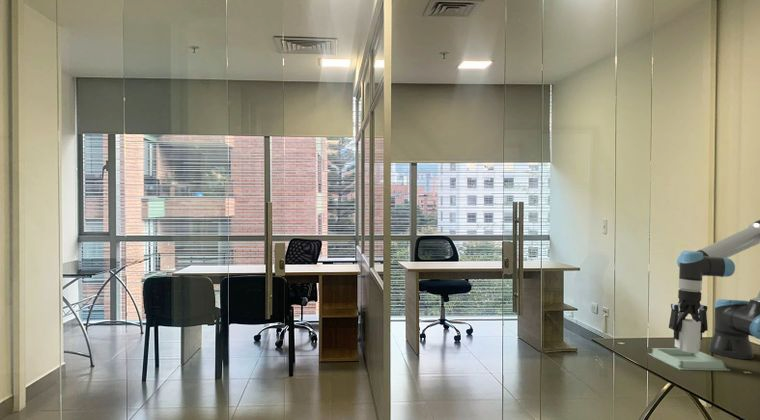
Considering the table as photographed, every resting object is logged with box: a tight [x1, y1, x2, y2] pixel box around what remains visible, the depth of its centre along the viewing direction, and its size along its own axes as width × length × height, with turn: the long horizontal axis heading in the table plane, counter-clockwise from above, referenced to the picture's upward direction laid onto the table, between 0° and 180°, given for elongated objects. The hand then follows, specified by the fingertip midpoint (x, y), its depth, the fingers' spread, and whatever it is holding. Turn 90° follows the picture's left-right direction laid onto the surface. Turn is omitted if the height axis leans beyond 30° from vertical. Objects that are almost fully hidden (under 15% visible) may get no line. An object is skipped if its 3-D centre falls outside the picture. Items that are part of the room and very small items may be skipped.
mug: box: [680, 318, 701, 353], centre depth 177 cm, size 10×7×12 cm, turn 147°
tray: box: [647, 347, 731, 372], centre depth 177 cm, size 20×18×3 cm
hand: (687, 347), depth 177 cm, fingers closed on mug, 7 cm apart
